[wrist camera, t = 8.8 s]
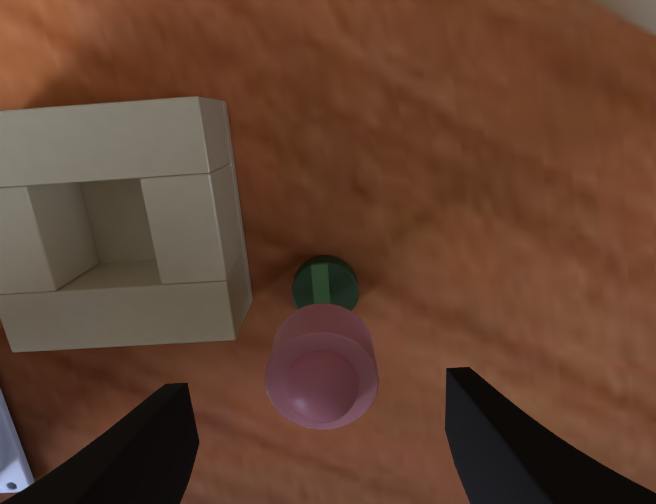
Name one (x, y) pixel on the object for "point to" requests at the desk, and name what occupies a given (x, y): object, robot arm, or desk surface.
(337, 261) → the flower
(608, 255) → the desk surface
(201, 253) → the beige square socket block
